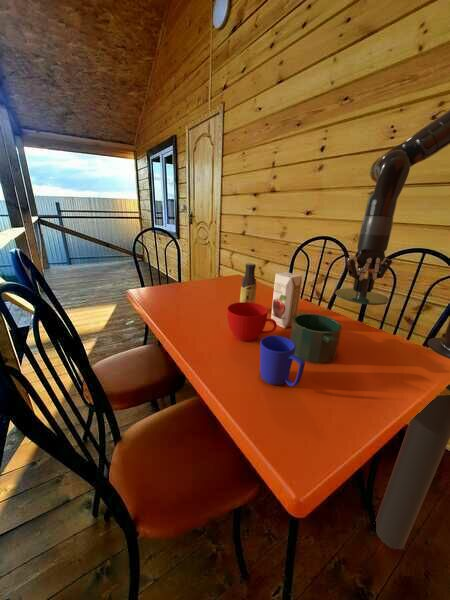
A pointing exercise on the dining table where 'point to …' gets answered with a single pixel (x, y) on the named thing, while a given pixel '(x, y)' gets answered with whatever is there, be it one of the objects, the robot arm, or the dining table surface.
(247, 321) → the ceramic cup
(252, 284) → the sauce bottle
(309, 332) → the pot
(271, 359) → the mug
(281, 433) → the dining table surface
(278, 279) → the juice carton
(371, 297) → the lid
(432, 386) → the dining table surface
